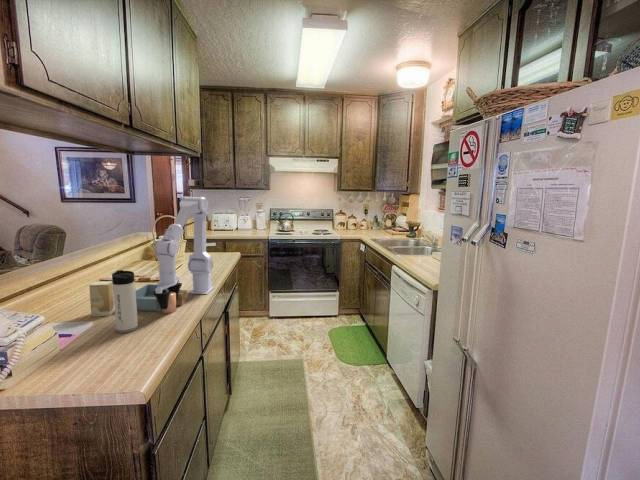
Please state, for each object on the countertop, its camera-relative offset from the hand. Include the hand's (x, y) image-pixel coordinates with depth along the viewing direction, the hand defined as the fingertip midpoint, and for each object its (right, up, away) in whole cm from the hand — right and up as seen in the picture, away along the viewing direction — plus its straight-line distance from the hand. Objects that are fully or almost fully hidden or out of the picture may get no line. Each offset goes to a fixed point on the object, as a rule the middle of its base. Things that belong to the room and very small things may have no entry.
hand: (169, 305), depth 119 cm
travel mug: (-7, -5, -15) cm, 17 cm away
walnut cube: (0, -1, +8) cm, 8 cm away
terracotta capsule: (0, -2, 0) cm, 3 cm away
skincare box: (-23, -3, -4) cm, 23 cm away
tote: (-11, -1, +8) cm, 14 cm away
